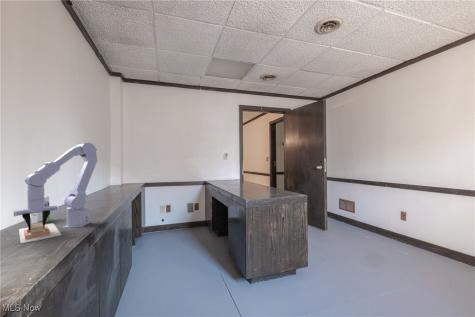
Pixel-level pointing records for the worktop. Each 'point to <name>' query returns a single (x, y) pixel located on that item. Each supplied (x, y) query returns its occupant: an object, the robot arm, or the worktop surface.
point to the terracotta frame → (36, 233)
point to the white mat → (53, 233)
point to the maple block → (36, 228)
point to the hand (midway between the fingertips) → (36, 228)
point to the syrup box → (40, 213)
